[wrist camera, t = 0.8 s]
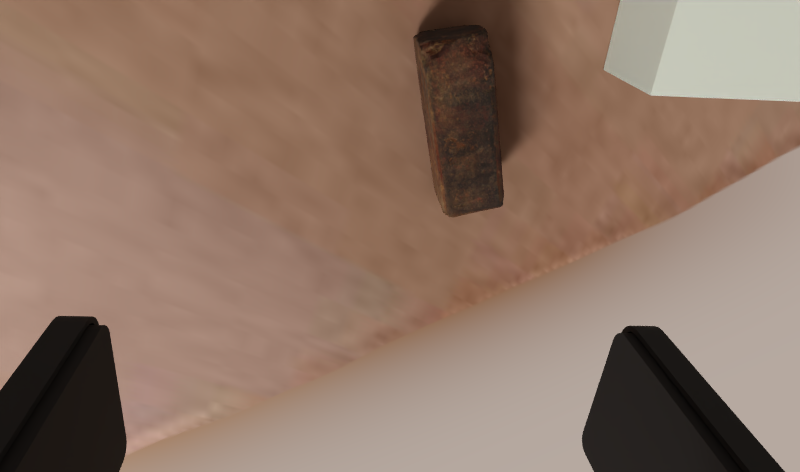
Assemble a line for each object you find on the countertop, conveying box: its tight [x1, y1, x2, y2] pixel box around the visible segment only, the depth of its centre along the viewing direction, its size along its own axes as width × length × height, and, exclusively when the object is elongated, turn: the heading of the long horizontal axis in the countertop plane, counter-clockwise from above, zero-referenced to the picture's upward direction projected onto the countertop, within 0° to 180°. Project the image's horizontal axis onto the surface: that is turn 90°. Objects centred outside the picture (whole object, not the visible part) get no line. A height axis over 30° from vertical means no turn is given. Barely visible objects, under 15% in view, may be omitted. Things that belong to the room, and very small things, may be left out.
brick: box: [414, 25, 504, 217], centre depth 35 cm, size 11×4×5 cm, turn 9°
